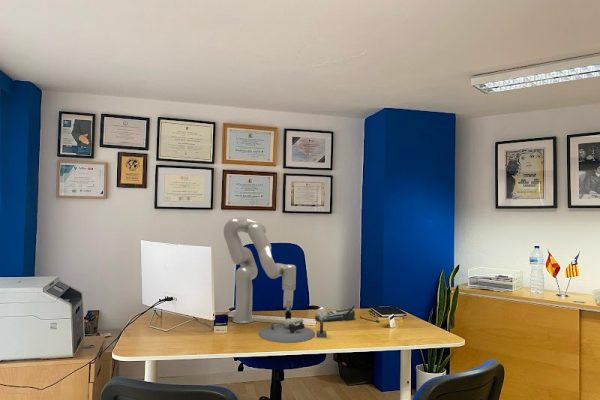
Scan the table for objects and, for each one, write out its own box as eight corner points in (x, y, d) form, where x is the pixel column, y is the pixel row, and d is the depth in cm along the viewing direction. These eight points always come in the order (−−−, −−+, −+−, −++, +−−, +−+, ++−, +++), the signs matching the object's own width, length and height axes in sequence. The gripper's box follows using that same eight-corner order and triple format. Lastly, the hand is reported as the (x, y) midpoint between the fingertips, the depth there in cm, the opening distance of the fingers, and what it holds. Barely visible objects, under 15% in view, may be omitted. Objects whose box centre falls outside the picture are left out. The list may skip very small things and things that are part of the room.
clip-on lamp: (271, 338, 212) (305, 331, 212) (269, 327, 211) (303, 319, 212) (272, 329, 223) (304, 322, 224) (269, 318, 223) (301, 311, 223)
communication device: (311, 318, 244) (311, 303, 245) (347, 315, 252) (347, 301, 252) (318, 323, 233) (319, 308, 233) (356, 320, 240) (356, 305, 241)
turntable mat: (255, 342, 197) (255, 341, 197) (261, 324, 227) (261, 323, 227) (316, 343, 197) (316, 343, 197) (314, 325, 227) (314, 325, 227)
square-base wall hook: (315, 337, 207) (316, 308, 207) (315, 334, 212) (316, 305, 212) (327, 337, 207) (328, 308, 207) (326, 334, 212) (327, 305, 212)
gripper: (282, 284, 235) (282, 315, 235) (281, 289, 221) (280, 323, 220) (295, 284, 235) (295, 316, 235) (295, 289, 221) (294, 323, 220)
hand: (288, 319), depth 228 cm, fingers closed
